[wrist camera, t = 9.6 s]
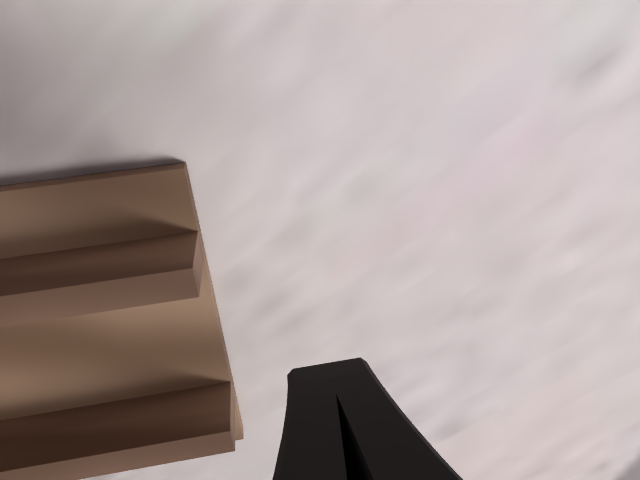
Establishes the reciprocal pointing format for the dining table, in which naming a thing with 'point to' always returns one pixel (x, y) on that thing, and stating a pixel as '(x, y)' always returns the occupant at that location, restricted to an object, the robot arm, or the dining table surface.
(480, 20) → the dining table surface
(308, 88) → the dining table surface
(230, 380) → the chute
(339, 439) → the robot arm
